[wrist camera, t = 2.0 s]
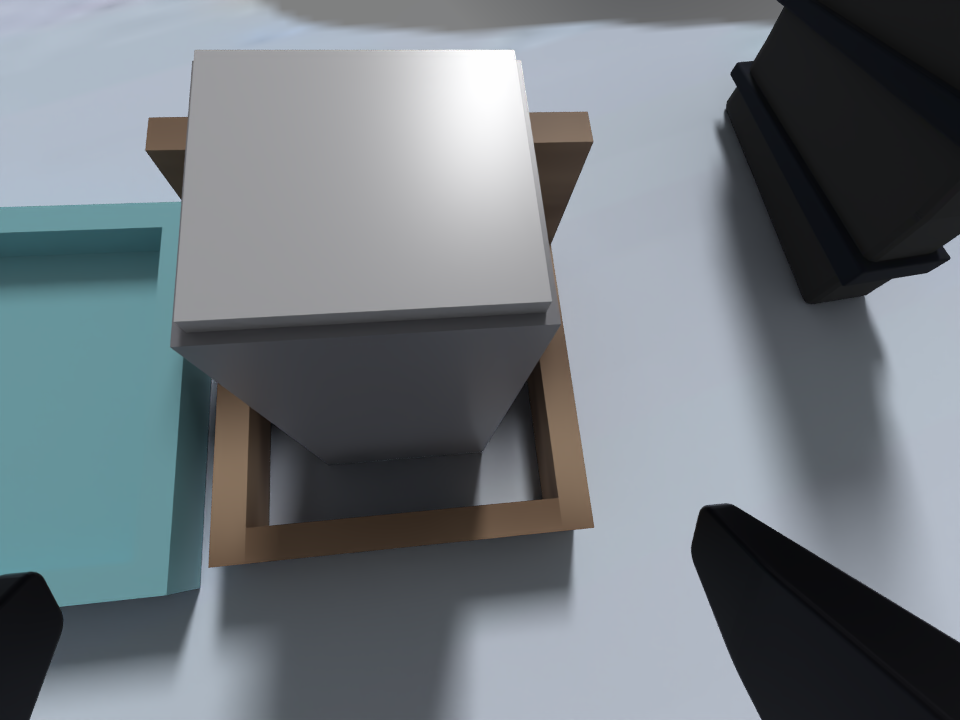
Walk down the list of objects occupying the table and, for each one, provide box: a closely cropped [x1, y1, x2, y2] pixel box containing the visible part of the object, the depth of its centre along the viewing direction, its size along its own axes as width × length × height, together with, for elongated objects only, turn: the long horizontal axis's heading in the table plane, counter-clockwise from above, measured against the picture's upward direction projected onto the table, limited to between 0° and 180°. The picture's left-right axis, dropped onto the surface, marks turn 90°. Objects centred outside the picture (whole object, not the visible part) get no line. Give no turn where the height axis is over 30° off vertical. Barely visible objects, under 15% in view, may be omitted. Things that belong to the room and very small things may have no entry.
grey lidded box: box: [170, 50, 561, 465], centre depth 14 cm, size 5×6×13 cm
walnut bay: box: [145, 112, 594, 568], centre depth 17 cm, size 11×12×8 cm
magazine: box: [726, 0, 960, 304], centre depth 20 cm, size 4×13×15 cm, turn 11°
